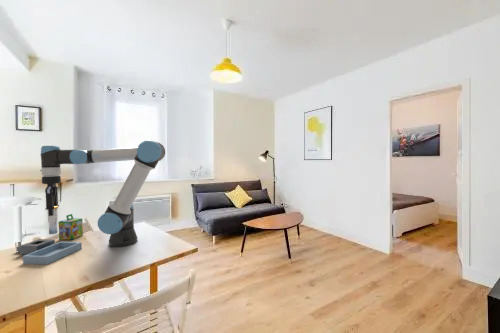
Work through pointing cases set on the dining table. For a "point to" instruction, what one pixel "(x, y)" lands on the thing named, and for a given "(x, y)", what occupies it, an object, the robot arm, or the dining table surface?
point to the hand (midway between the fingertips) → (52, 220)
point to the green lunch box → (70, 228)
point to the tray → (52, 253)
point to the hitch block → (34, 246)
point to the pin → (53, 223)
